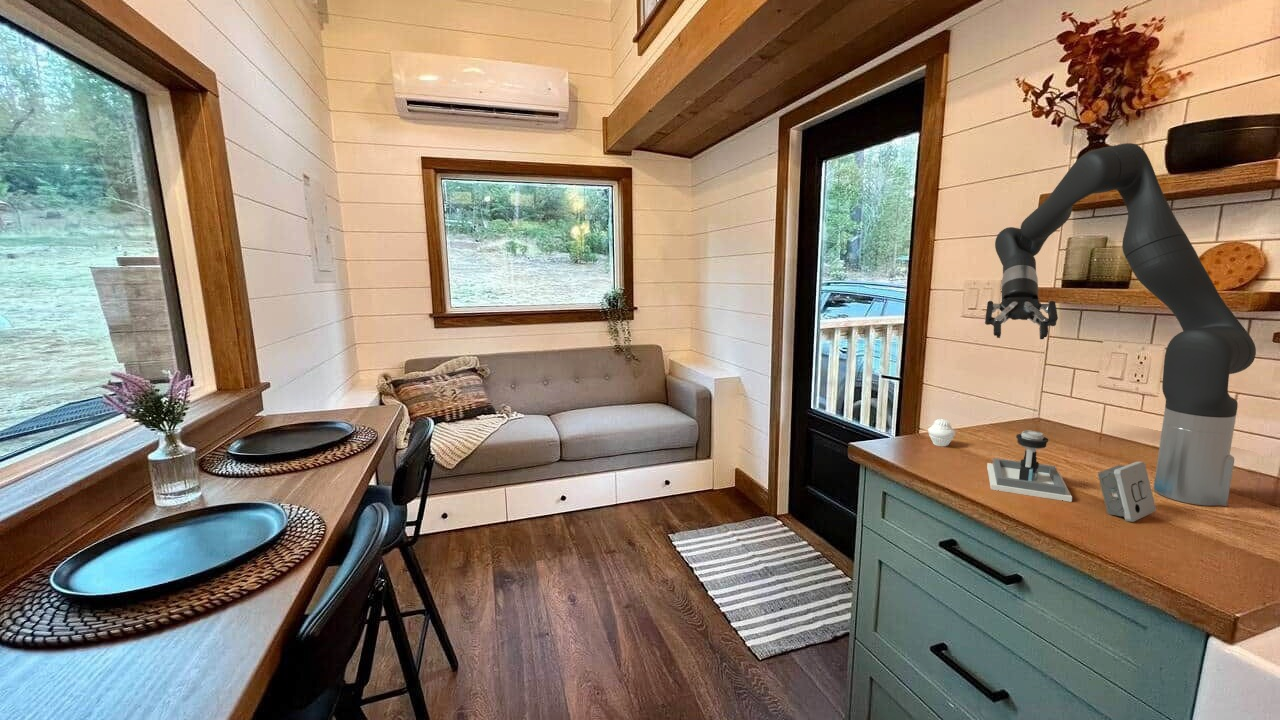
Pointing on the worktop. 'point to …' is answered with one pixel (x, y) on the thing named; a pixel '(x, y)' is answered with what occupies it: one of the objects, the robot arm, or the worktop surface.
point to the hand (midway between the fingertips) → (1020, 336)
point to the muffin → (941, 432)
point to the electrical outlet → (1127, 491)
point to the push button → (1030, 453)
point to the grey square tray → (1045, 486)
